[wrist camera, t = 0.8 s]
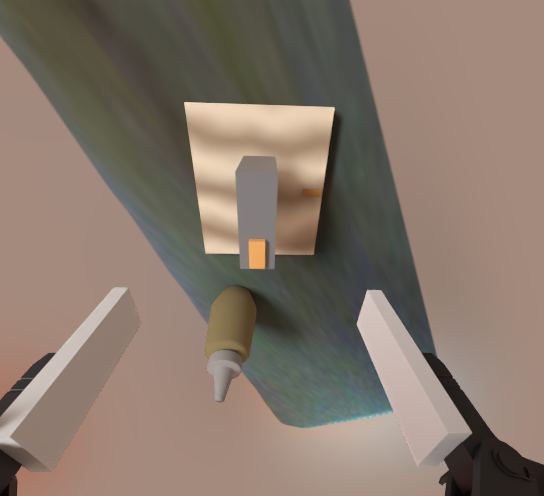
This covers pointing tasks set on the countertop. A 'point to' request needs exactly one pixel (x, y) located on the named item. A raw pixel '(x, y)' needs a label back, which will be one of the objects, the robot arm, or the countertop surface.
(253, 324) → the squeeze bottle
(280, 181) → the base
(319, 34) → the countertop surface
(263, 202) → the grey block
